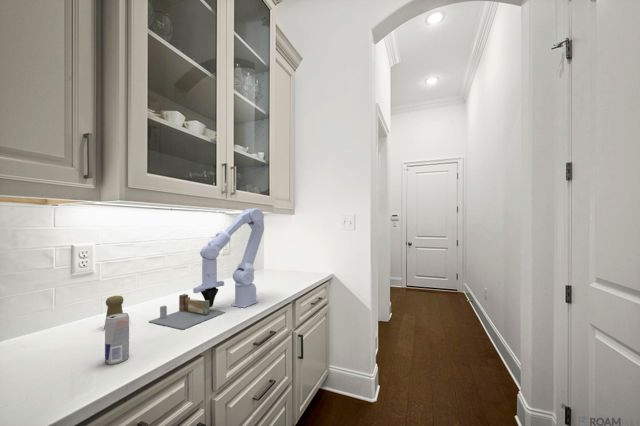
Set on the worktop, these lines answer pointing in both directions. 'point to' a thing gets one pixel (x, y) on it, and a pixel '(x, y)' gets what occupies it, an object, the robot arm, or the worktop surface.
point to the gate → (197, 305)
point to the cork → (114, 305)
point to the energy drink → (116, 338)
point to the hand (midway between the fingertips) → (209, 306)
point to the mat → (186, 319)
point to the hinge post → (182, 302)
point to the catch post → (163, 312)
